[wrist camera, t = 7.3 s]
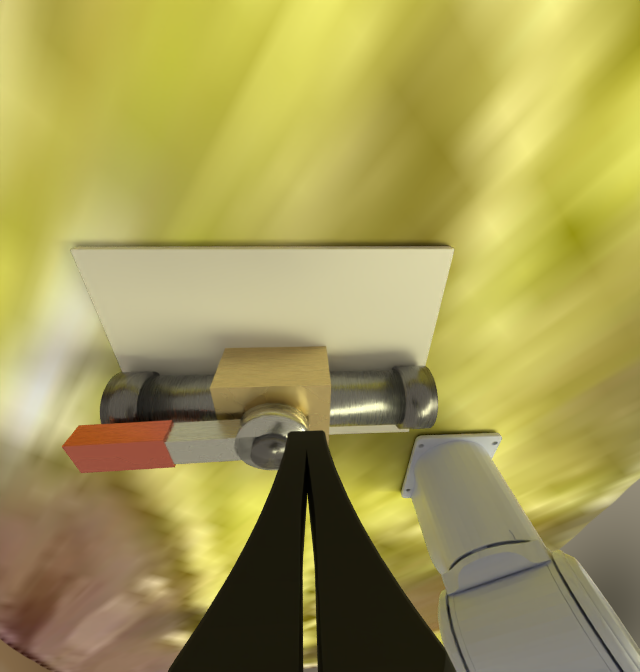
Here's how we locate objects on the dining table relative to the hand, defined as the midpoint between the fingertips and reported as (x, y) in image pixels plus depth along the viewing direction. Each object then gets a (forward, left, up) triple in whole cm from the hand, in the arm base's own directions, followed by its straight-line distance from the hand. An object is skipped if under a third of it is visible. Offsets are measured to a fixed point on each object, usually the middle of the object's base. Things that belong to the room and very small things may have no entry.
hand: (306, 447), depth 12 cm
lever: (-5, +7, -5) cm, 10 cm away
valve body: (-5, +2, -10) cm, 12 cm away
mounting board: (-3, +2, -10) cm, 11 cm away
